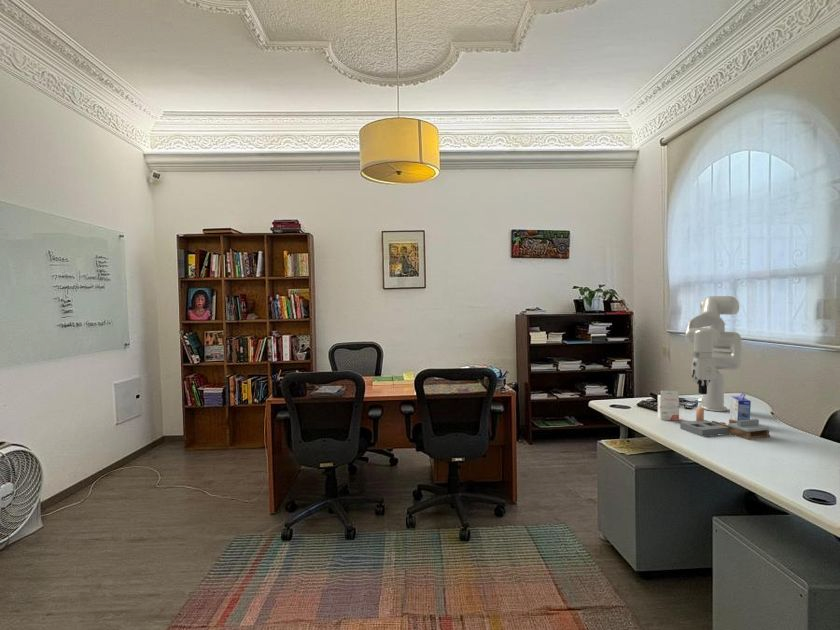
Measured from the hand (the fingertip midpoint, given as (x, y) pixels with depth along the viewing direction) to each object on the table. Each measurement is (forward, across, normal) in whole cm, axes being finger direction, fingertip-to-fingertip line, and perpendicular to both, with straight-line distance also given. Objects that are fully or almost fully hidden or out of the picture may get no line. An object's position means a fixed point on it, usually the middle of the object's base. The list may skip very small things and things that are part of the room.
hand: (702, 393), depth 205 cm
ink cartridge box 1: (+15, -7, +13) cm, 21 cm away
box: (+15, +6, -13) cm, 21 cm away
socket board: (+15, -8, -8) cm, 19 cm away
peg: (+15, 0, +1) cm, 15 cm away
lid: (+12, +6, -17) cm, 22 cm away
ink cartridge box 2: (+15, +20, -2) cm, 25 cm away
